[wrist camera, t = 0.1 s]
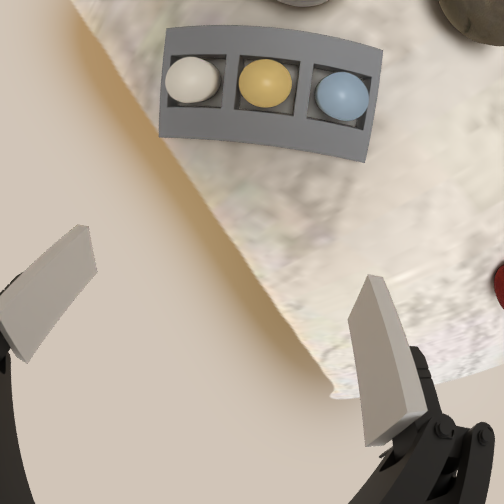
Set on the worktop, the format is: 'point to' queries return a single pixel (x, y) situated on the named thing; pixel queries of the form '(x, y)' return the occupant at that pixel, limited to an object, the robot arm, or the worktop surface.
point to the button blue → (342, 96)
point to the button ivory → (192, 80)
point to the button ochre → (265, 83)
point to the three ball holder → (264, 122)
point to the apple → (499, 285)
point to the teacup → (303, 2)
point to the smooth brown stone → (477, 19)
